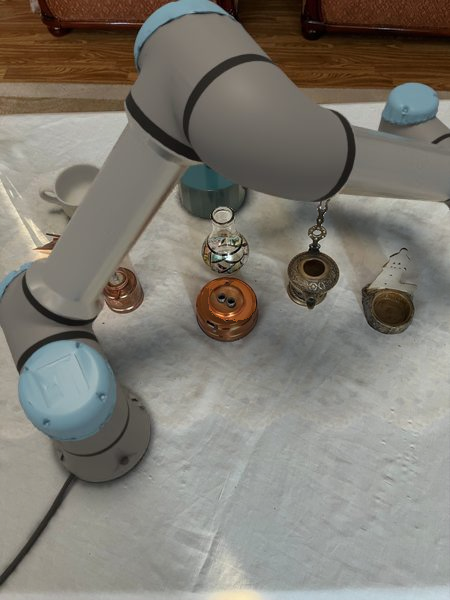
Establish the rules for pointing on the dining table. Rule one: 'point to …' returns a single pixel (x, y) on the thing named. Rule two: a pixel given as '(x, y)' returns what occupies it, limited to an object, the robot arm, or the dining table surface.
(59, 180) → the teacup
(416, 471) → the dining table surface
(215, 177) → the lid
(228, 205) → the pot
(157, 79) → the robot arm
